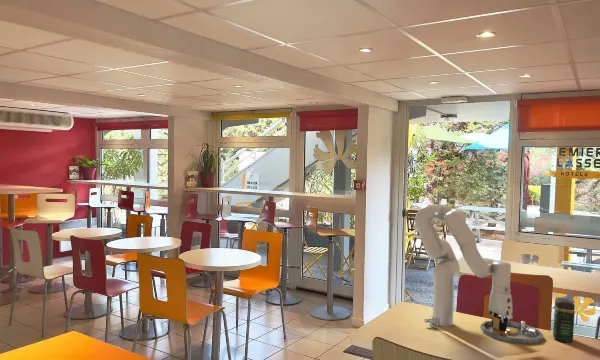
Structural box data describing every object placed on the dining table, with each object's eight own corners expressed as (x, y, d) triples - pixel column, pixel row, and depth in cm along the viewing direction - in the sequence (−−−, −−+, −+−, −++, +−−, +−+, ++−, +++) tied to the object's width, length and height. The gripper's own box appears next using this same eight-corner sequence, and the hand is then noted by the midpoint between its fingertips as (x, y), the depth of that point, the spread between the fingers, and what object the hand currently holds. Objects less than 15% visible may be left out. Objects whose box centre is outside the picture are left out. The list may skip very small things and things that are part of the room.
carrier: (510, 350, 197) (511, 335, 197) (469, 330, 221) (470, 316, 221) (554, 344, 206) (555, 329, 206) (510, 325, 230) (511, 312, 230)
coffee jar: (574, 344, 207) (576, 303, 207) (554, 341, 210) (556, 300, 210) (570, 337, 216) (572, 297, 216) (551, 334, 219) (553, 295, 219)
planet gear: (498, 338, 207) (499, 320, 207) (487, 333, 213) (488, 315, 213) (510, 336, 209) (511, 319, 209) (498, 331, 216) (499, 314, 215)
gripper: (521, 293, 204) (520, 334, 205) (493, 284, 220) (491, 322, 220) (508, 294, 202) (506, 335, 202) (481, 284, 217) (479, 323, 218)
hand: (499, 328), depth 211 cm, fingers open, 4 cm apart
